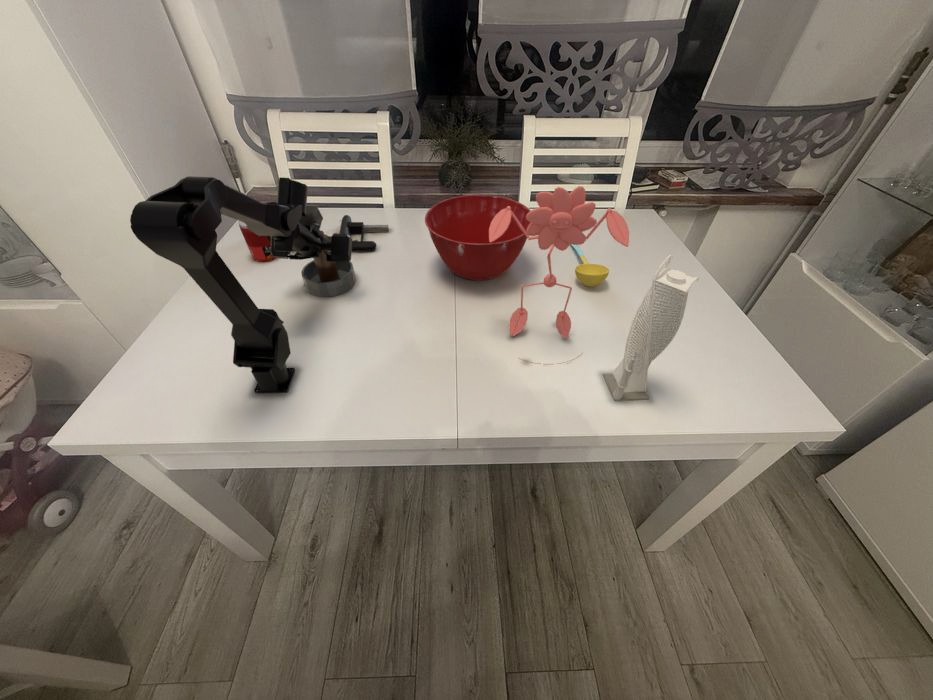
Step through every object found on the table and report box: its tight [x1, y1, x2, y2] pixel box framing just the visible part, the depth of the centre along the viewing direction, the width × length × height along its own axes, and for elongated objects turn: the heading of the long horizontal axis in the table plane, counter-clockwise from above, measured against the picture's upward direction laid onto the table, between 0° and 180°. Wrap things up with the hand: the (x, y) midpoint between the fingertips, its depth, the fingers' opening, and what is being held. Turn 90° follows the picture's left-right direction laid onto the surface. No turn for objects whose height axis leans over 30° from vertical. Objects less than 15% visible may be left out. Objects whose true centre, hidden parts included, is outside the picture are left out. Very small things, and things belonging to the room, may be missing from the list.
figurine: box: [489, 185, 630, 366], centre depth 77 cm, size 15×26×35 cm, turn 83°
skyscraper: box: [602, 253, 700, 402], centre depth 70 cm, size 8×8×28 cm
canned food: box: [237, 220, 277, 263], centre depth 111 cm, size 8×8×11 cm
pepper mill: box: [312, 230, 340, 282], centre depth 99 cm, size 5×5×14 cm
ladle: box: [570, 244, 611, 287], centre depth 111 cm, size 9×26×6 cm, turn 1°
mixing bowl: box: [424, 194, 531, 281], centre depth 106 cm, size 28×28×16 cm
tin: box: [301, 259, 357, 299], centre depth 103 cm, size 13×13×4 cm
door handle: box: [338, 214, 389, 252], centre depth 123 cm, size 3×20×16 cm
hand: (326, 255), depth 101 cm, fingers closed on pepper mill, 5 cm apart
